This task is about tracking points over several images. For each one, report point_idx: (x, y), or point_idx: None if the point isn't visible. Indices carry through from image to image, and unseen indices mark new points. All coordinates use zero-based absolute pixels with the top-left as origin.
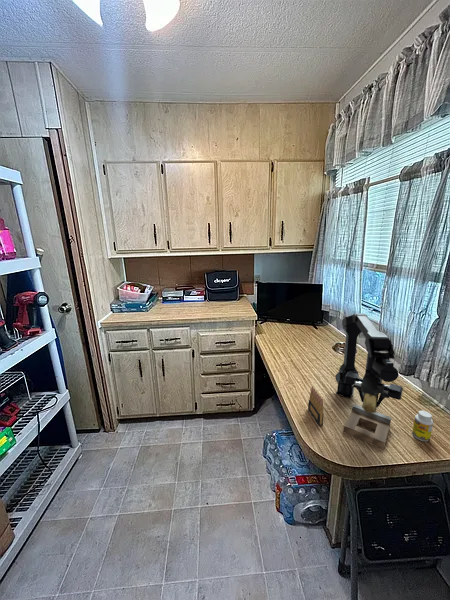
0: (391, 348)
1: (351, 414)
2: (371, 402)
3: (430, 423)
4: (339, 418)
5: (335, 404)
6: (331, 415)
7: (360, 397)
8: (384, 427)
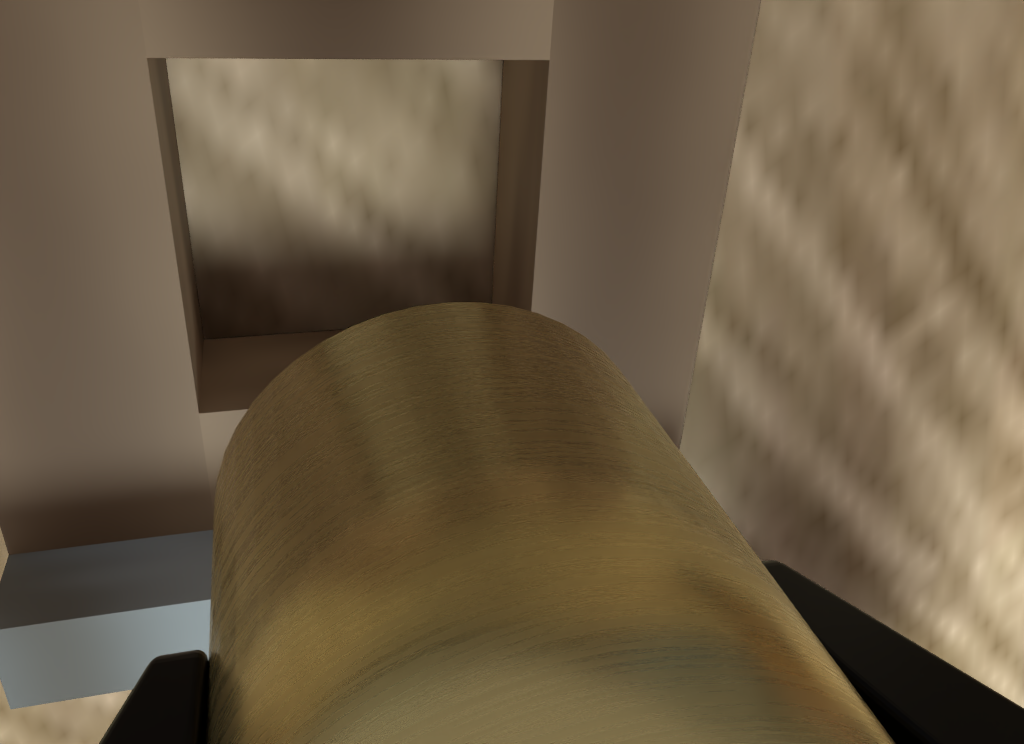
0: None
1: (669, 360)
2: (471, 679)
3: None
4: (781, 234)
5: (845, 497)
6: (896, 222)
7: (975, 681)
8: (52, 403)
